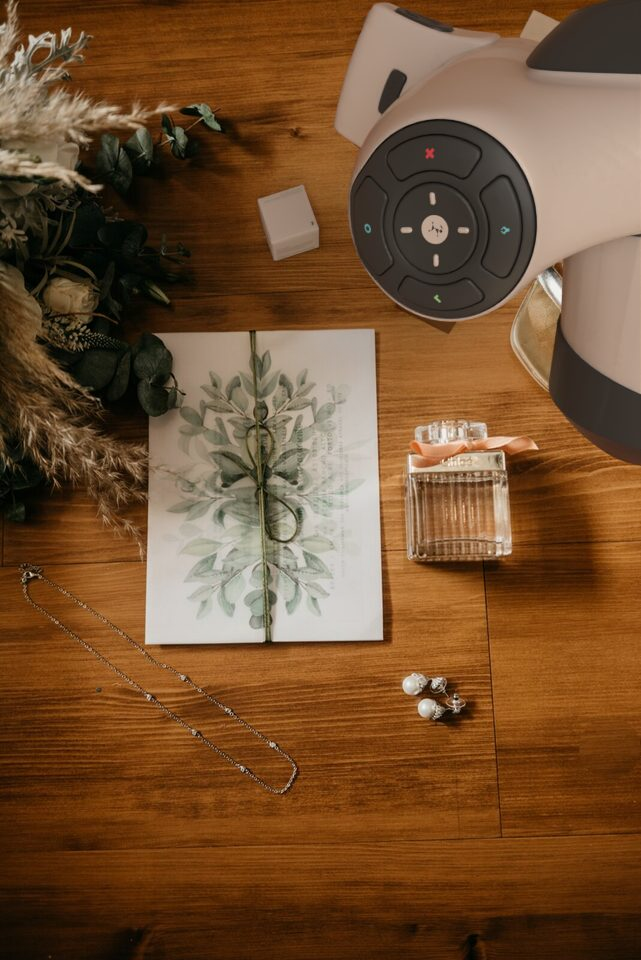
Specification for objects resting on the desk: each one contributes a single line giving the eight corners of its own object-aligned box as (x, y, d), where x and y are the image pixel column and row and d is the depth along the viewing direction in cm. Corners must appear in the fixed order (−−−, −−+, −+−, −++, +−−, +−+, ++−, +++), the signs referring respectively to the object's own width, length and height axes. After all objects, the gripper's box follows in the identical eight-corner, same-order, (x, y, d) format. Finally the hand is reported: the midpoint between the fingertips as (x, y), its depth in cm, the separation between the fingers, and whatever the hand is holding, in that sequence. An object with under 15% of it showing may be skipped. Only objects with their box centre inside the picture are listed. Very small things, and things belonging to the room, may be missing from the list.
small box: (305, 203, 85) (304, 182, 80) (320, 248, 84) (320, 229, 79) (259, 218, 84) (255, 198, 79) (274, 263, 84) (271, 245, 79)
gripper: (722, 168, 35) (700, 117, 45) (345, -13, 36) (410, -22, 46) (642, 281, 39) (639, 210, 49) (306, 116, 40) (373, 81, 50)
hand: (526, 97), depth 48 cm, fingers closed on packet, 4 cm apart
